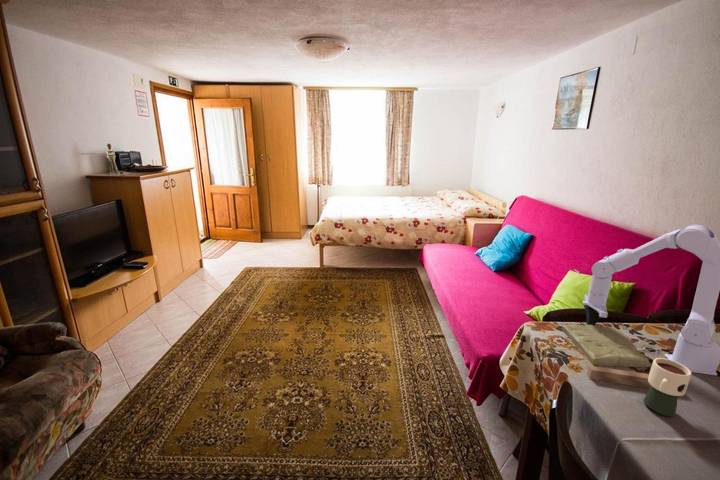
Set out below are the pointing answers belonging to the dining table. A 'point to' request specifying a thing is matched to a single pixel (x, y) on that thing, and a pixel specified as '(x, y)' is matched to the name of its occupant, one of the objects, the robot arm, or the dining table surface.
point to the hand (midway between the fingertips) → (590, 325)
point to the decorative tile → (605, 346)
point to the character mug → (666, 385)
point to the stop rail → (618, 376)
